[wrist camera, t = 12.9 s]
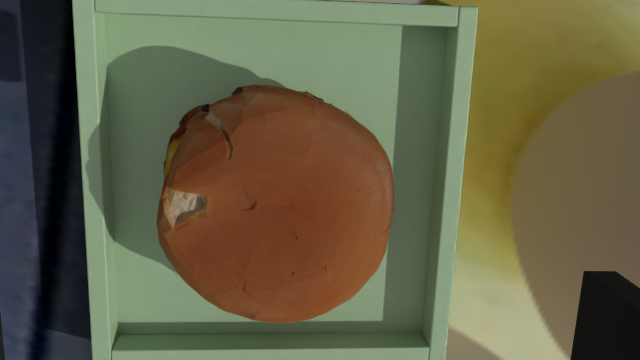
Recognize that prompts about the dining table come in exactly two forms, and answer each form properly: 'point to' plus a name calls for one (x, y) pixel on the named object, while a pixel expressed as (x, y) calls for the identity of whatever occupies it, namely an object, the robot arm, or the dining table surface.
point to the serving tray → (288, 72)
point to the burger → (275, 204)
